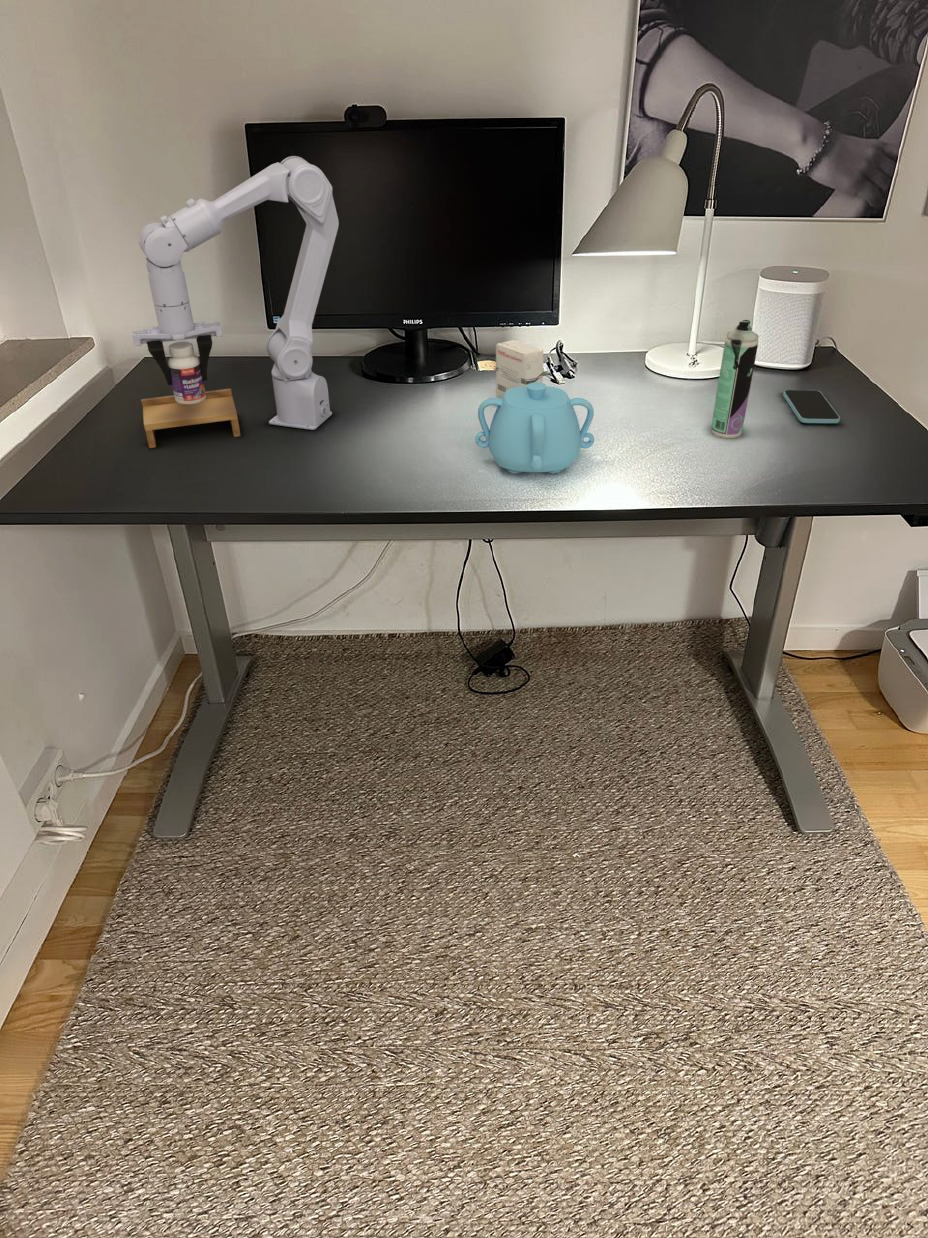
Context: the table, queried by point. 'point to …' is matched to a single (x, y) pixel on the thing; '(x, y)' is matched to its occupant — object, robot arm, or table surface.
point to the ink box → (517, 366)
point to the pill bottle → (186, 374)
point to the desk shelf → (188, 413)
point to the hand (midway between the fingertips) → (187, 380)
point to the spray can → (734, 381)
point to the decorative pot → (535, 429)
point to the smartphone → (811, 406)
